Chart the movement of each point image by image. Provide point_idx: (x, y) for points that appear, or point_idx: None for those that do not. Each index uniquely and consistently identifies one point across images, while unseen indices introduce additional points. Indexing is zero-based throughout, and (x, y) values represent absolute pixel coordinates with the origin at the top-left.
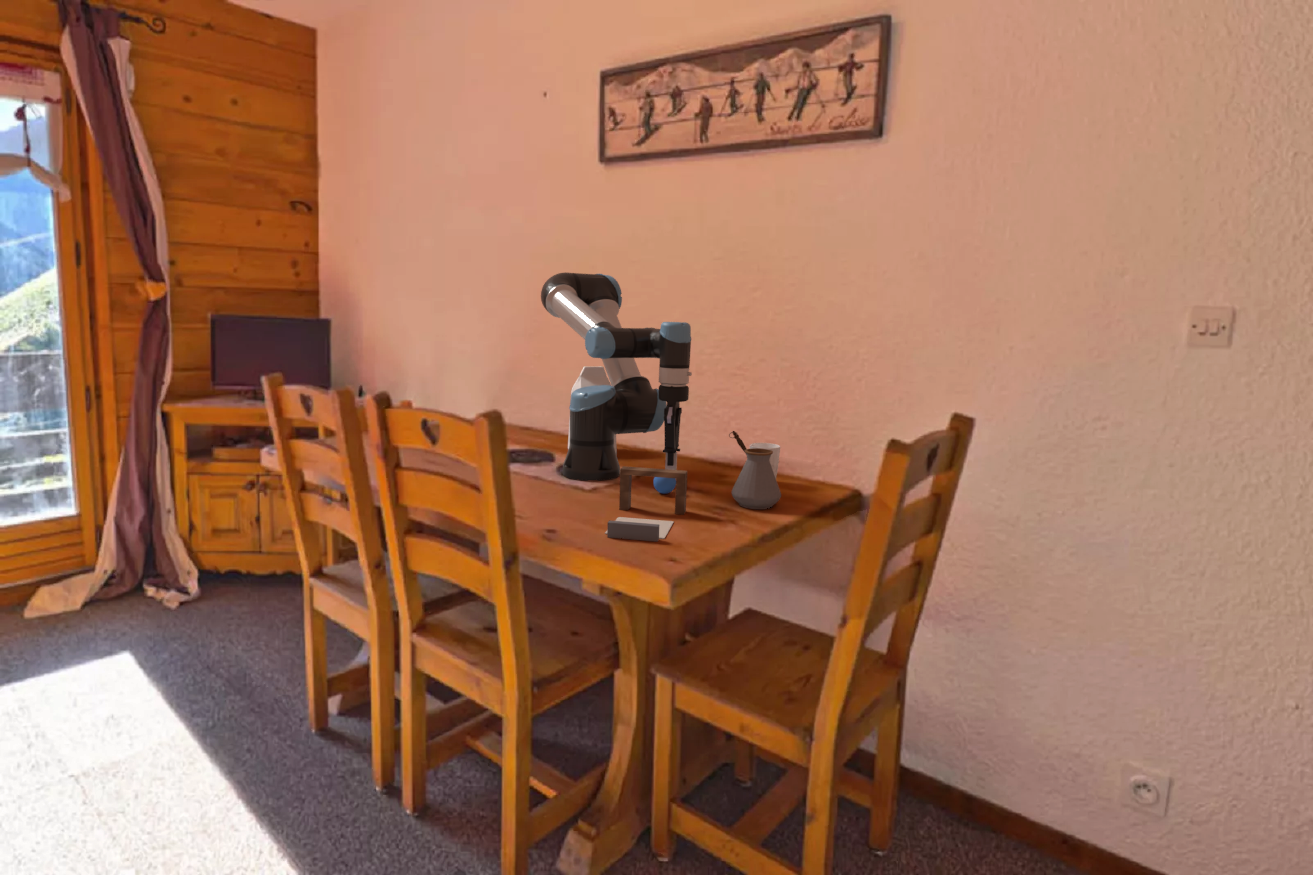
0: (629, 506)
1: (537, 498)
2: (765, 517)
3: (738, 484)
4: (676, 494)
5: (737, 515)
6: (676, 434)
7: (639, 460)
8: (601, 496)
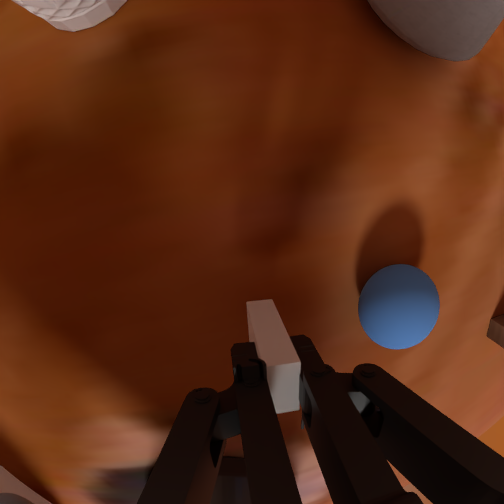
0: (502, 317)
1: None
2: None
3: (486, 39)
4: None
5: (496, 70)
6: (338, 452)
7: (4, 430)
8: None
